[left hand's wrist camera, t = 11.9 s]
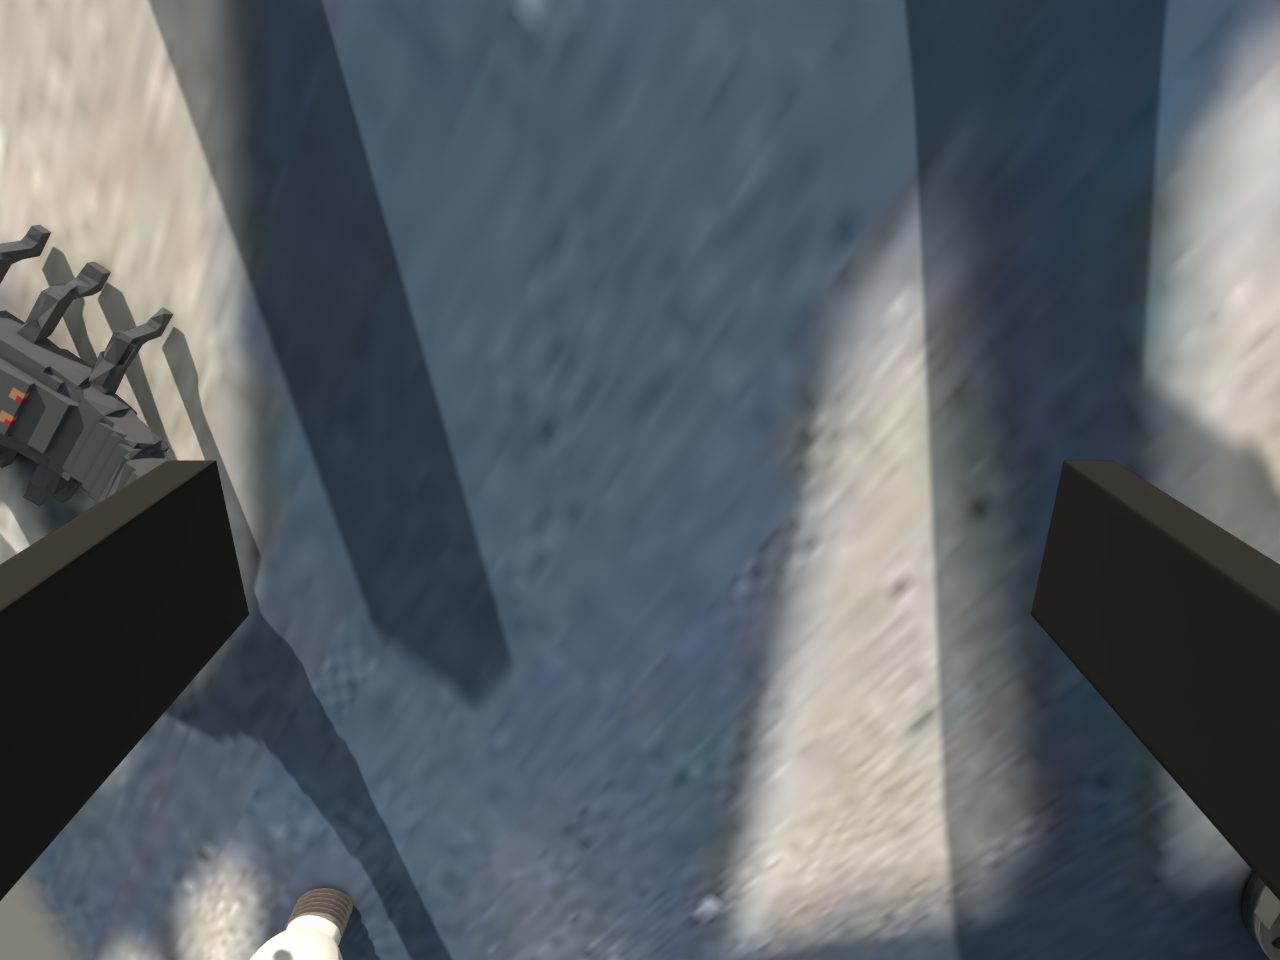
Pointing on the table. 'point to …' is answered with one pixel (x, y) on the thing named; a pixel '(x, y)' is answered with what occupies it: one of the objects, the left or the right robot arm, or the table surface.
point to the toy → (70, 393)
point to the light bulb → (311, 928)
